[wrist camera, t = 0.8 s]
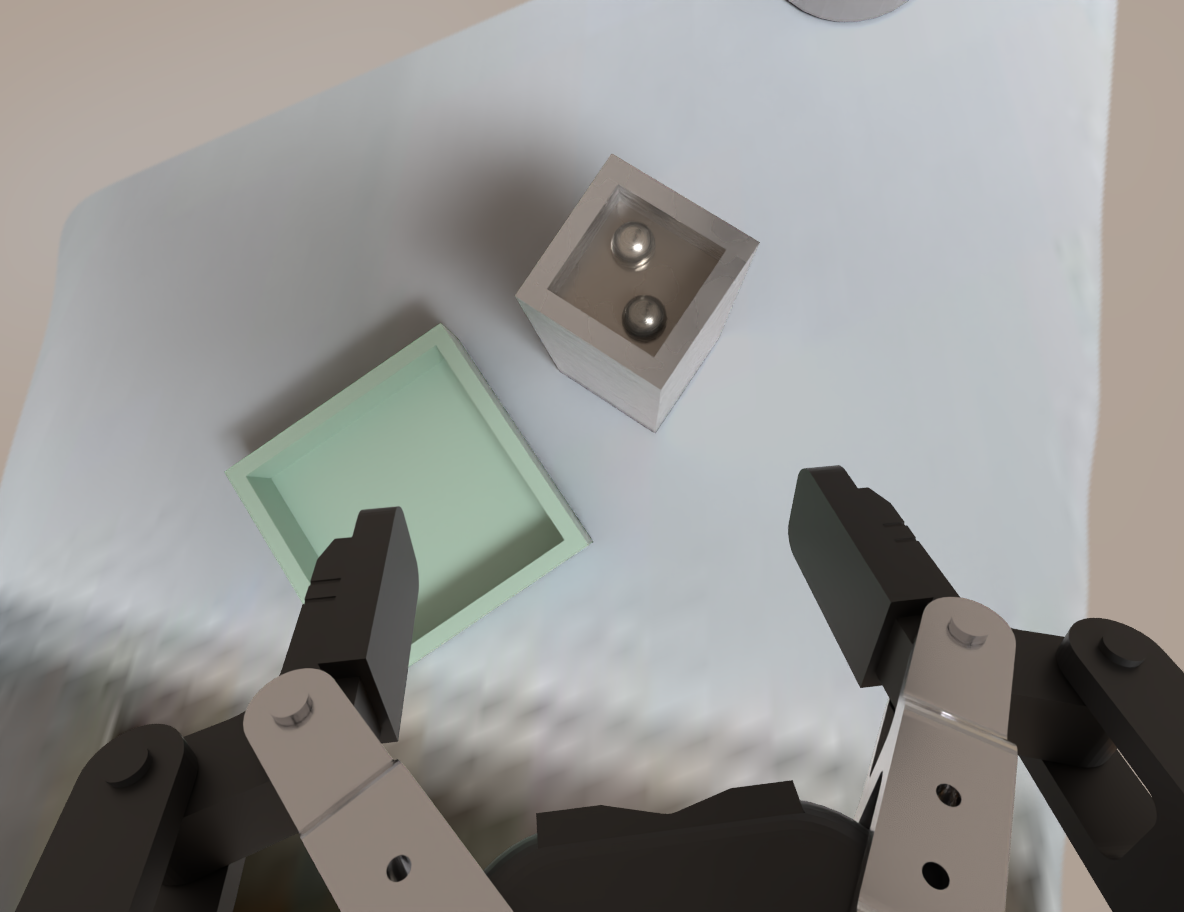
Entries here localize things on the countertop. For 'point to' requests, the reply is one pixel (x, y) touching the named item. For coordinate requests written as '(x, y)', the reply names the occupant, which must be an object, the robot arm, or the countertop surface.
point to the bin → (416, 486)
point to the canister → (635, 291)
